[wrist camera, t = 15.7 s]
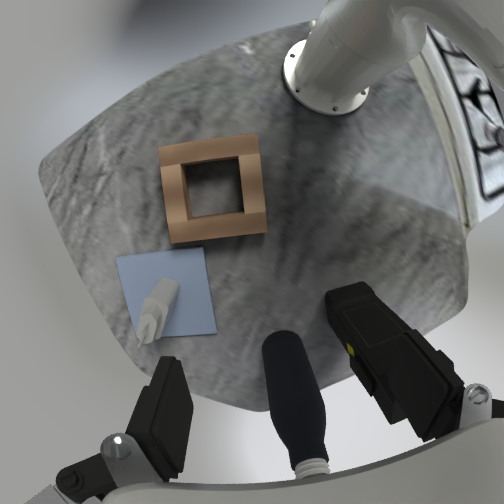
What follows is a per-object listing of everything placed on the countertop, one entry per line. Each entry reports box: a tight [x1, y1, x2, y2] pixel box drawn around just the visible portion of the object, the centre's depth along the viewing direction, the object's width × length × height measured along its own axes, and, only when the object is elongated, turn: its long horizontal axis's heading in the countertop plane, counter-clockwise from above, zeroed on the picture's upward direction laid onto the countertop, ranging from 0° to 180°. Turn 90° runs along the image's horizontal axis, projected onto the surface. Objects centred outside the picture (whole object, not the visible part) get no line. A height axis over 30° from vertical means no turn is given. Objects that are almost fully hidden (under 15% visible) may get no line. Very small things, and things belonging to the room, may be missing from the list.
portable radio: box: [325, 282, 454, 425], centre depth 28 cm, size 8×6×25 cm
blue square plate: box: [116, 246, 218, 337], centre depth 38 cm, size 13×13×1 cm
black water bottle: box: [262, 331, 330, 479], centre depth 27 cm, size 6×6×30 cm
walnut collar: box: [158, 133, 268, 244], centre depth 33 cm, size 12×12×4 cm
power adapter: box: [136, 277, 180, 348], centre depth 32 cm, size 3×5×12 cm, turn 159°
